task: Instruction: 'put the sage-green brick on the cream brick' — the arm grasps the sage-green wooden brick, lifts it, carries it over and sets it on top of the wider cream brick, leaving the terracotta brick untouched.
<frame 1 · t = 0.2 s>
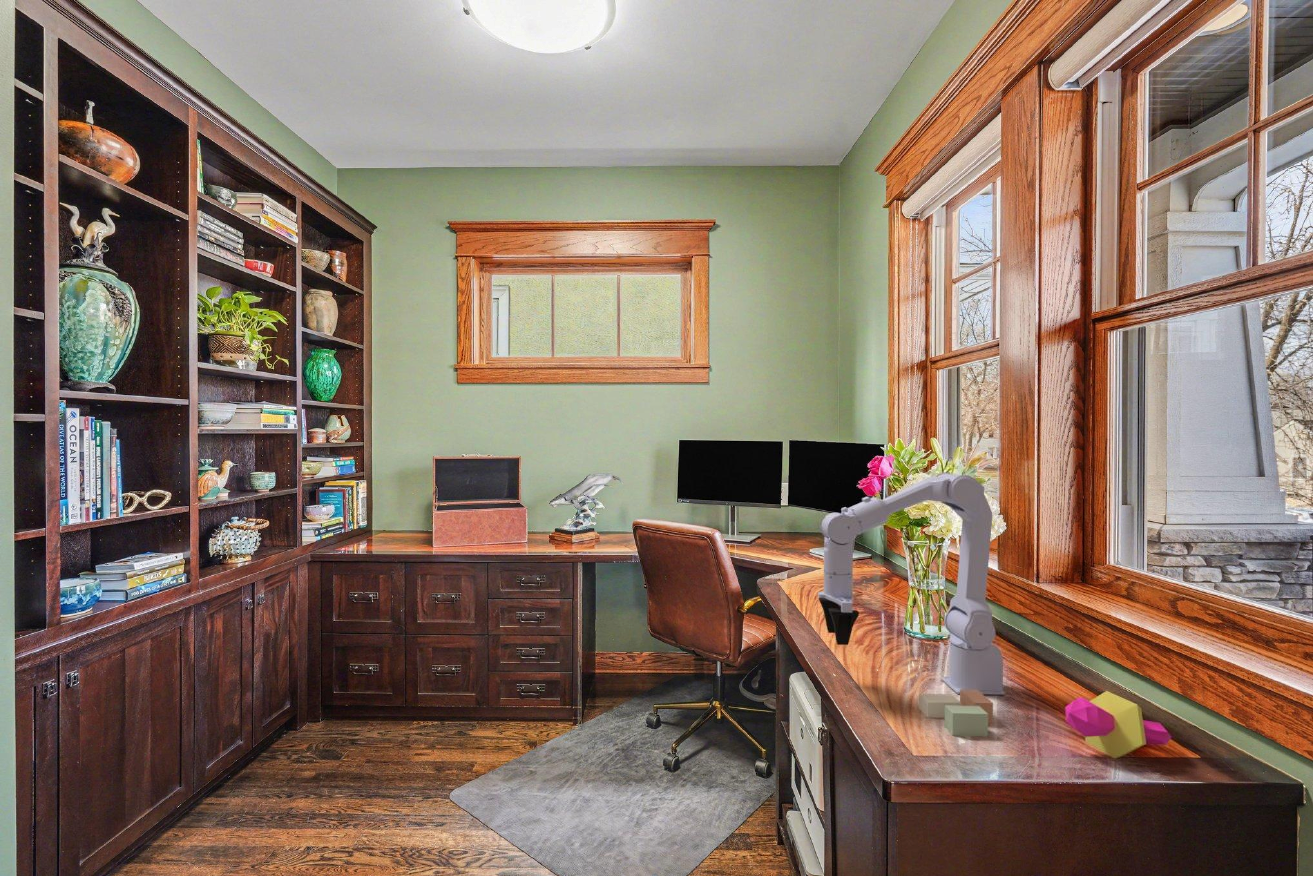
hand: (837, 638, 131), 10 cm above the table, fingers open, 7 cm apart
cream brick: (939, 714, 120), on the table
green brick: (965, 732, 112), on the table
toy: (1114, 752, 106), on the table
terracotta brick: (975, 717, 118), on the table
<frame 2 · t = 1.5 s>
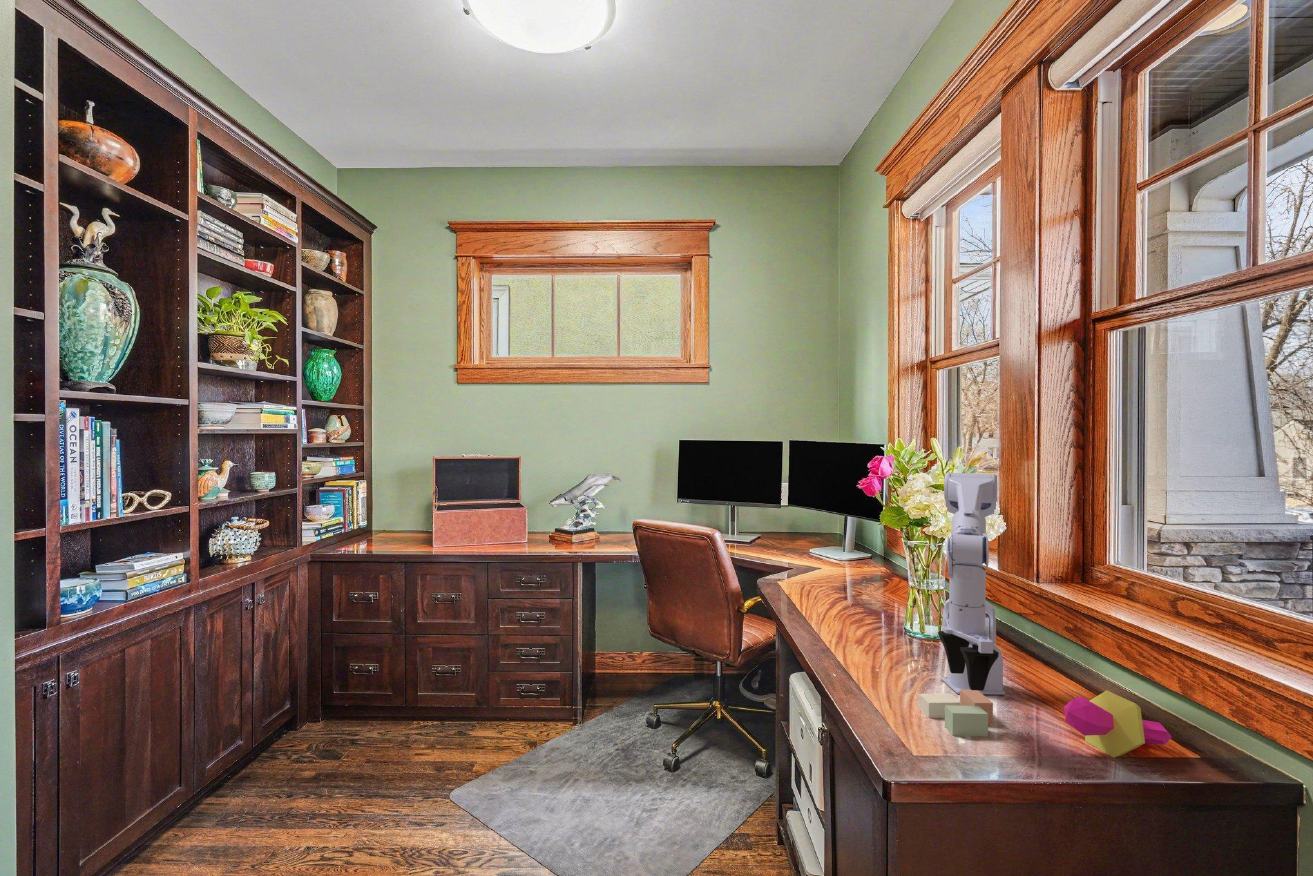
hand: (966, 681, 112), 9 cm above the table, fingers open, 7 cm apart
nothing on the table moved.
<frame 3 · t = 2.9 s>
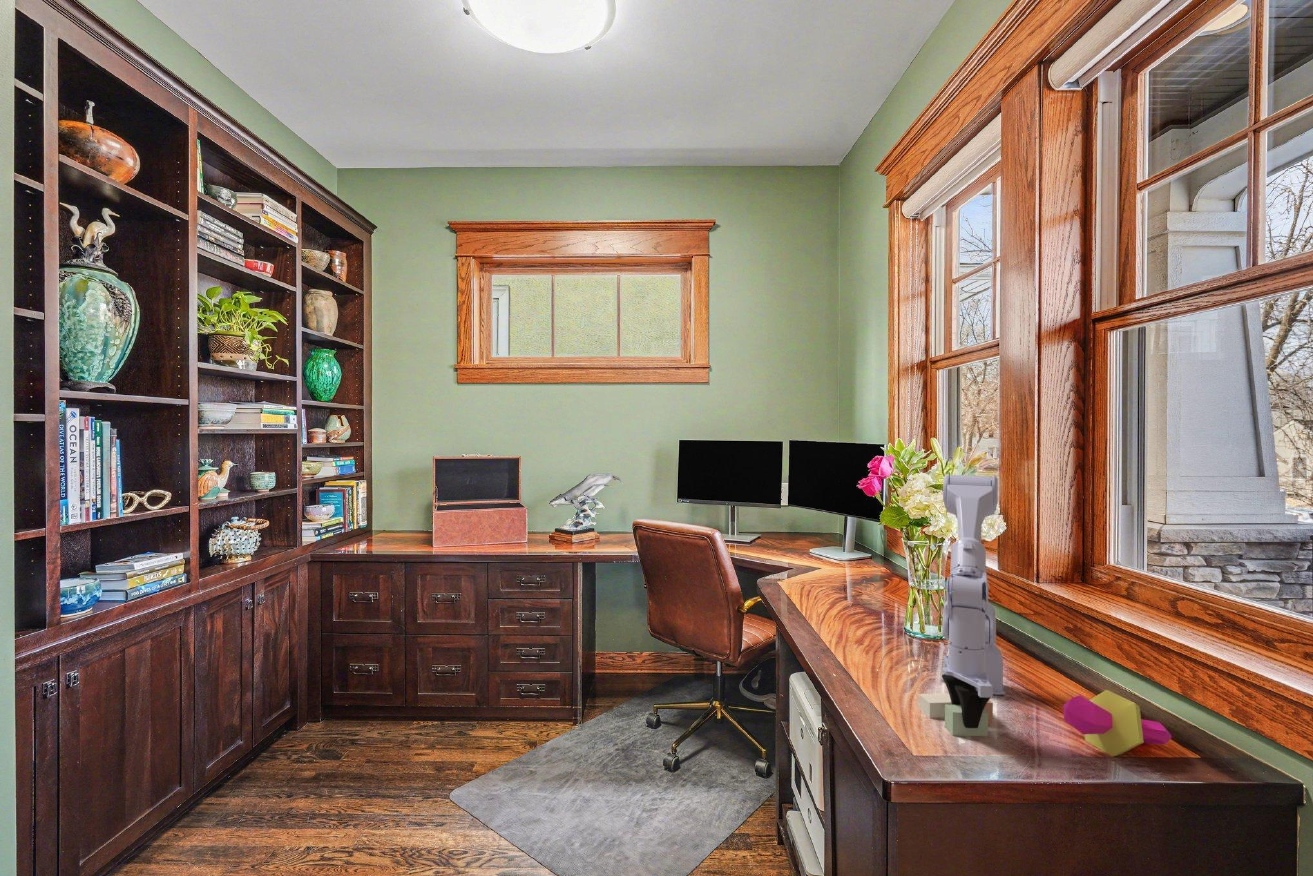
hand: (965, 722, 112), 2 cm above the table, fingers closed on green brick, 3 cm apart
green brick: (966, 731, 112), on the table, touching gripper
everything else where it was.
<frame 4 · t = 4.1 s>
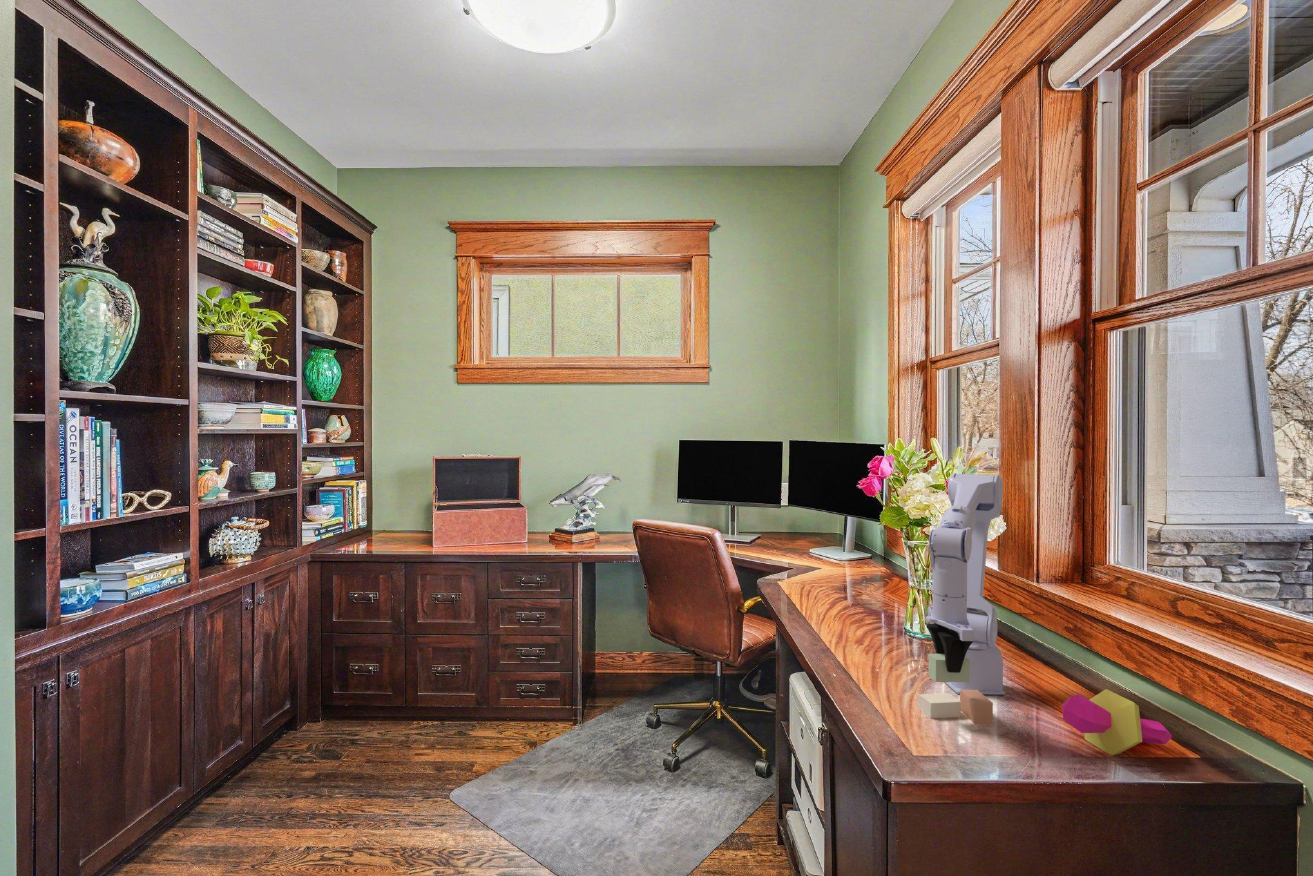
hand: (949, 668, 117), 9 cm above the table, fingers closed on green brick, 3 cm apart
green brick: (948, 678, 117), point 7 cm above the table, touching gripper
everything else where it was.
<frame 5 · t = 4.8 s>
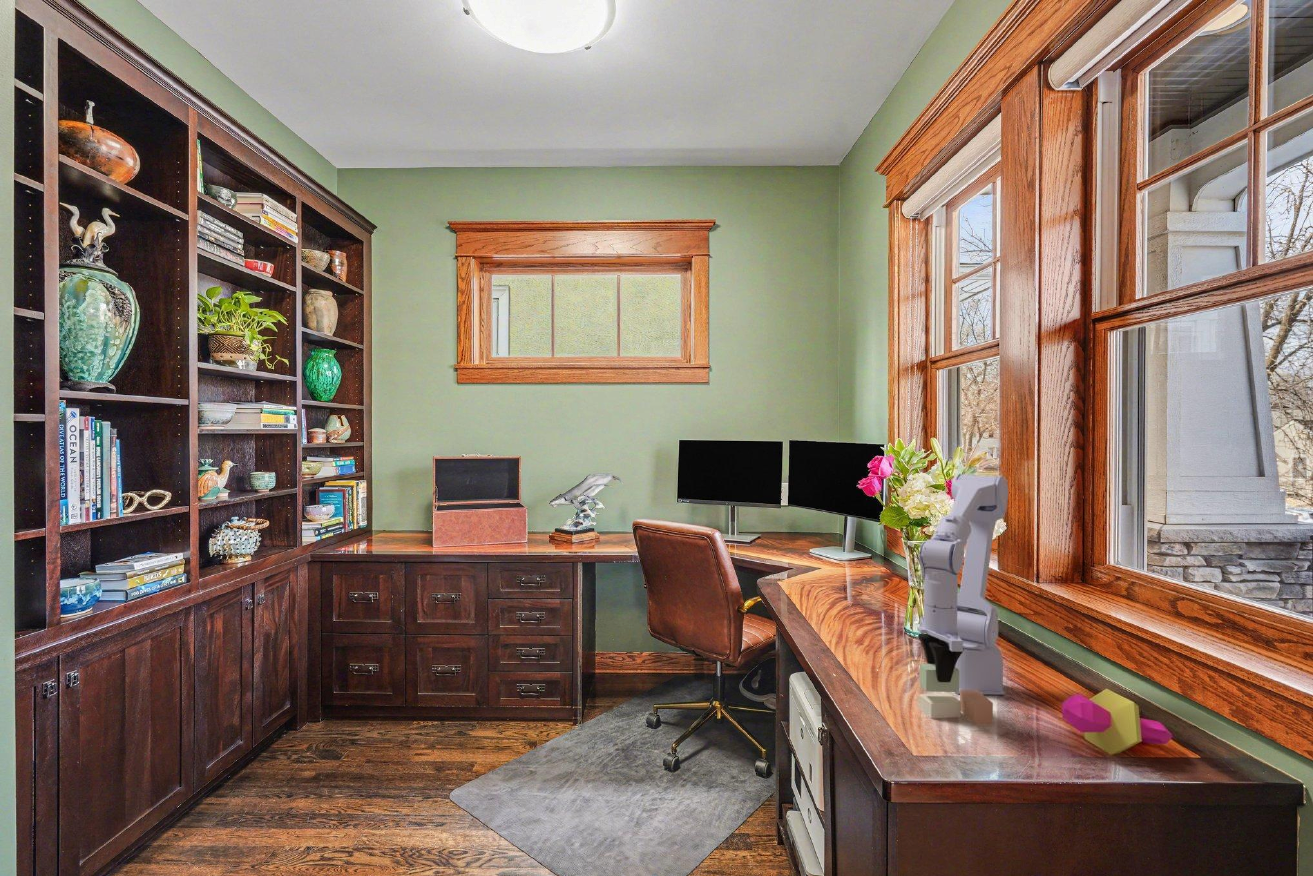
hand: (939, 677, 120), 7 cm above the table, fingers closed on green brick, 3 cm apart
green brick: (939, 688, 120), point 5 cm above the table, touching gripper
when the fingers open (6 cm above the table, at t = 5.3 s): green brick drops 1 cm, resting on cream brick.
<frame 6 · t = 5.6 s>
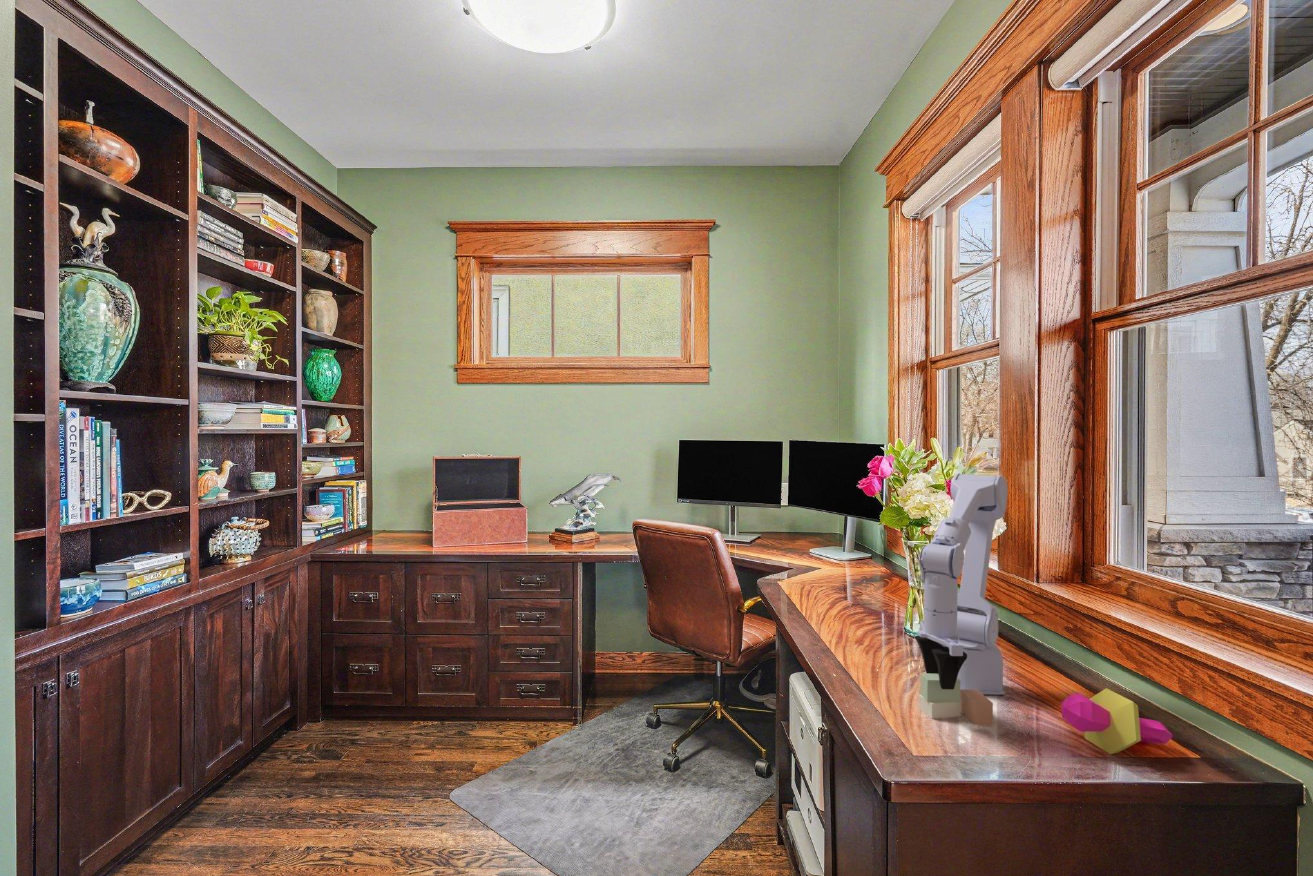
hand: (939, 681, 120), 6 cm above the table, fingers open, 6 cm apart
cream brick: (939, 714, 120), on the table, touching green brick
green brick: (940, 698, 119), point 3 cm above the table, touching cream brick
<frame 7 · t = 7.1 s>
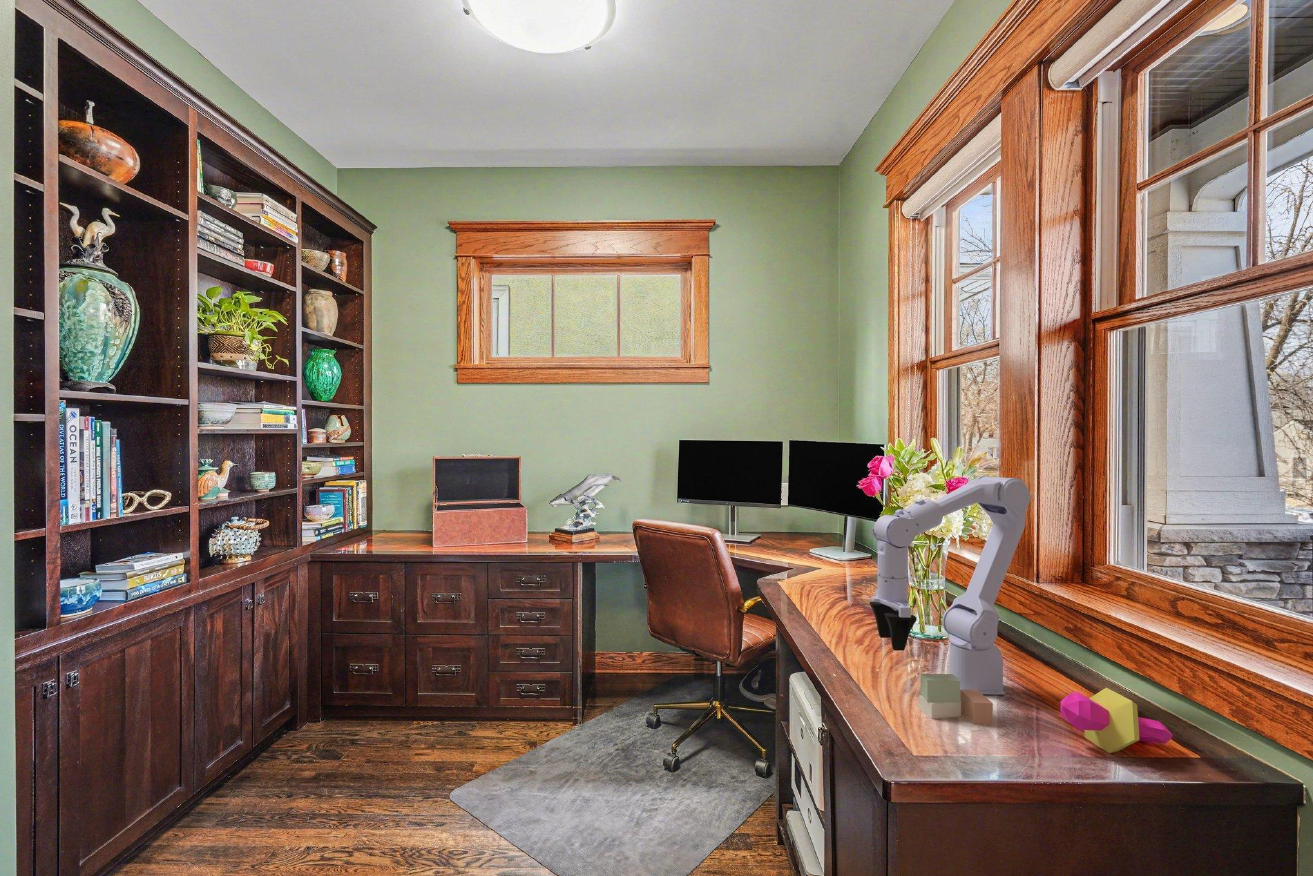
hand: (891, 643, 128), 10 cm above the table, fingers open, 7 cm apart
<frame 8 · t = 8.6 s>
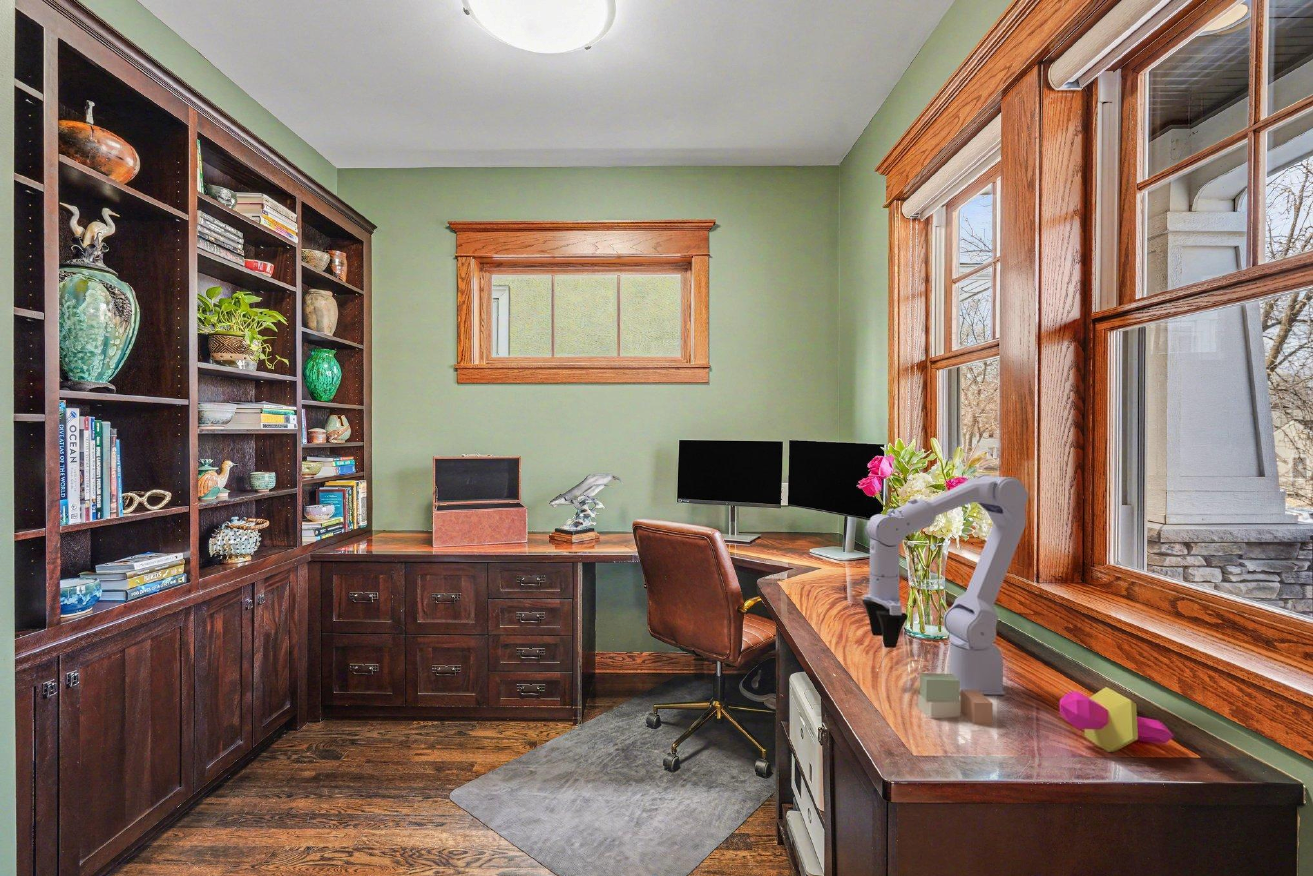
hand: (883, 641, 130), 10 cm above the table, fingers open, 7 cm apart
at the end: green brick 0.1 cm off-centre on the cream brick, point 3.0 cm above the cream brick's base; green brick tilted 0°; terracotta brick moved 0.2 cm from its start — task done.
